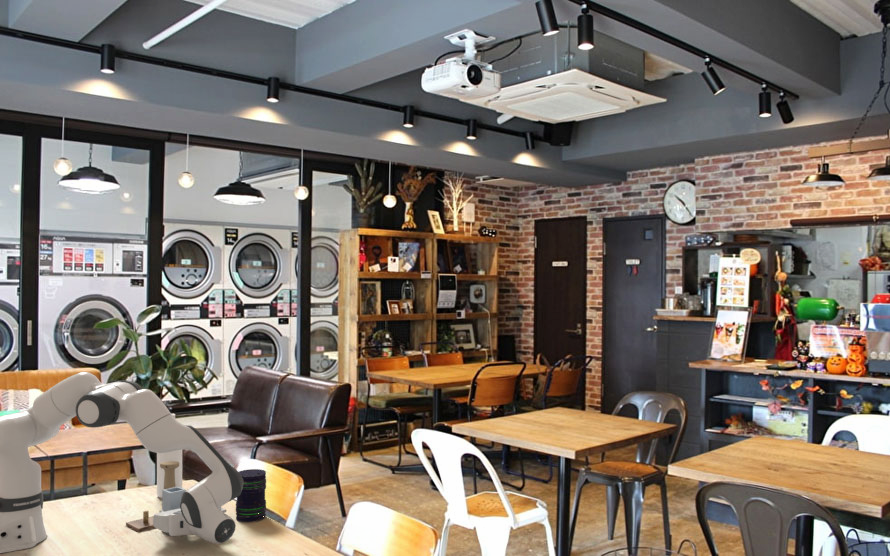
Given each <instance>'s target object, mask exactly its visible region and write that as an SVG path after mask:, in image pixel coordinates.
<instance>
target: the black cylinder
mask: <svg viewBox="0 0 890 556" xmlns="http://www.w3.org/2000/svg"><path fill="white" fill-rule="evenodd" d="M238 472H239V473H240V475H241V476H242V478H243V481H244V483H243V488H242V492H241V494H240V496H238V497H236V501H235V502H236V503H235V515H236V517H235V520H236V521H237V522H239V523H241V522H242V523H254V522H253V521H256V522H259V521H260V522H261V521H262V520H264V519H266V517H267V514H266V512H267V501H266V489H267V475H266V474H267V471H266V470H264V469H256V468H253V469H244V470H238ZM258 513H259V514H258ZM263 516H264V517H263Z"/></svg>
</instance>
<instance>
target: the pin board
mask: <svg viewBox="0 0 890 556" xmlns="http://www.w3.org/2000/svg"><path fill="white" fill-rule="evenodd" d="M142 513H143V514H142V516H143V517H142V518H140V519H136V520H131V521H127V522H126V521H125V526H126V527H127V528H130V529H132V530H134V531H135V532H138V533H140V532H143V531H147V530H152V529H156V528H155V527H154V526H153V516H154V515H152V516H149V513H150V512H149V510H143V512H142Z"/></svg>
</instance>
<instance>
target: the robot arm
mask: <svg viewBox="0 0 890 556" xmlns="http://www.w3.org/2000/svg"><path fill="white" fill-rule="evenodd" d="M171 414H172V413H171V412H170V410H169V408H168V407H167V406H166V405H165V403H164V402H163V400H162V399H160V397H159V396H158V395H157V394H156V393H155V392H154V391H152V390H151V389H149V388H142V386H141V385H140V384H139V383H137V382H135V381H132V380H110V381H109V382H108V383H102V382H101V381H100V379H99V378H98V377H97V376H96V375H94V374H93V373H91V372H89V371H88V372H87V371H83V372H82V371H81V372H78V373H75V374H73V375H71V376H68V377H67V378H65V379H63V380H61V381H59V382H58V383H56V384H55V385H53V386H51V387H50V388H49V389H47V390H46V391H44V392H42V393H41V394H40V395H38V396H37V397H36V398H35V400H34V401H33V403H32V407H30V408H27V409H24V410H21V411H18V412H14V413H13V412H12V413H8V414H5V415H0V554H5V553H8V552H15V551H19V550H25V549H26V550H27V549H31V548H34V547H36V546H37V544H39V543H41V542H42V541H44V540H46V539H47V537H48V534H47V531H46V527H45V523H44V517H43V509H44V507H43V506H44V493H43V490H42V466H41V465H40V463H38V462H37V461H35V460H33V459H32V458H31V456H30V453H29V452H30V451H29V447H33V446H38V445H41V444H43V443H46V442H47V441H49V440H51V439H54V437H56V436H57V435H58V433H59V431H60V430H61V426H63V425H64V424H66V423H68V422H69V421H71V420H72V419H73V418H75V417H76V418H77V420H78V421H79V422H80V424H81V425H83V426H85V427H86V428H94V429H95V428H102V427H106V426H109V425H113V424H116V423H117V422H119V421H124V422H126V423H127V424H128V425H129V426H130V428H131V429H132V431H133V433H134V434H135V436H136V438H137V439H138V441H139V443H141V444H142V446H143V447H144V449H146V450H148V451H149V452H152V453H156V454H157V453H167V452H172V451H177V450H182V451H183V450H187V451H192V452H193V453H195V454H196V455H197V456H198V457H199V458H200V460H201V461H202V462H203V463H204V464H205V465H206V466H207V467H208V468H209V469H210V471H211V473H210V474H209V475H208V476H207V477H205V478H203V479H202V480H200V481H199V482H196V483H195V484H194V485H191V486H190V487H189V488H187V489H185V490H186V491H185V492H183V494H182V497H181V502H180V508H178V509H174V510H169V511H166V510H162V509H160V510H159V512H156V513H154V514H153V515H152V516H153V526H154V527H155V528H154V529H157V530H158V531H162V533H165V532H169V534H168V535H169V536H171V537H175V536H176V537H178V536H180V537H181V536H196V537H199V538H200V539H202V540H204V541H206V542H208V543H211V544H215V545H217V544H219V545H220V544H224V543H226V542H227V541H229V540H230V538H232V537H233V535H234V533H235V531H236V526H237V525H236V522H235V520H234V519H233V518H232V517H231V516H230V515H228V514H226V513H227V509H226V508H223V506H224V505H226V504H227V503H228V502H231V501H233V500H234V499H237V497H238V496H240V494H241V492H242V488H243V483H244V481H243V478H242V476H241V475H240V473H239V470H237V469H236V468H235V467H234V466H233V465H232V464H230V463H229V462H228V461H227V460H226V459H225V458H224V457H223V456H222V454H221V453H220V452H219V451H218V450H217V449H216V448H215V447H214V446H213V445H212V443H210V442H209V441H208V440H207V438H205V436H204V435H203V434H202V433H201V432H200V431H199V430H198V429H197V428H195V427H193V426H192V425H190V424H188V425H185V424H183V423H181V422H179V420H177V419H175V418H174V417H173V416H172V415H171Z"/></svg>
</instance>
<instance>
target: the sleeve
mask: <svg viewBox="0 0 890 556" xmlns="http://www.w3.org/2000/svg"><path fill="white" fill-rule="evenodd" d="M186 490H187V489H186V488H183V487H182V488H180V487H174V488H169V489H164V490H162V498H161V499H162V500H161V501H162V502H161V505H162V507H161V510H166V511H169V510H174V509H178V508H180V502H181V497H182V494H183V492H185V491H186ZM164 533H166V534H167V535H169V532H164Z"/></svg>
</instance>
